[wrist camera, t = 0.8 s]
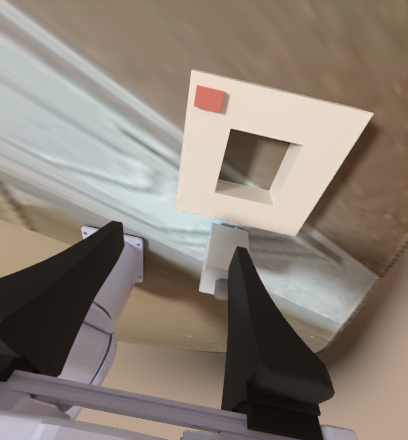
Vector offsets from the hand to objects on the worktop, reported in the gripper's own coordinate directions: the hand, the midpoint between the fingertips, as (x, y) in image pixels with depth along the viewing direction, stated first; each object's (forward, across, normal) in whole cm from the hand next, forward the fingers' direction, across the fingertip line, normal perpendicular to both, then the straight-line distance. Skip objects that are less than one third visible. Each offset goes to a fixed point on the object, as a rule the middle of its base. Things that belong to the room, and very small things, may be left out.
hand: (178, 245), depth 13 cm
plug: (+10, -4, +6) cm, 12 cm away
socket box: (+10, -4, -3) cm, 11 cm away
